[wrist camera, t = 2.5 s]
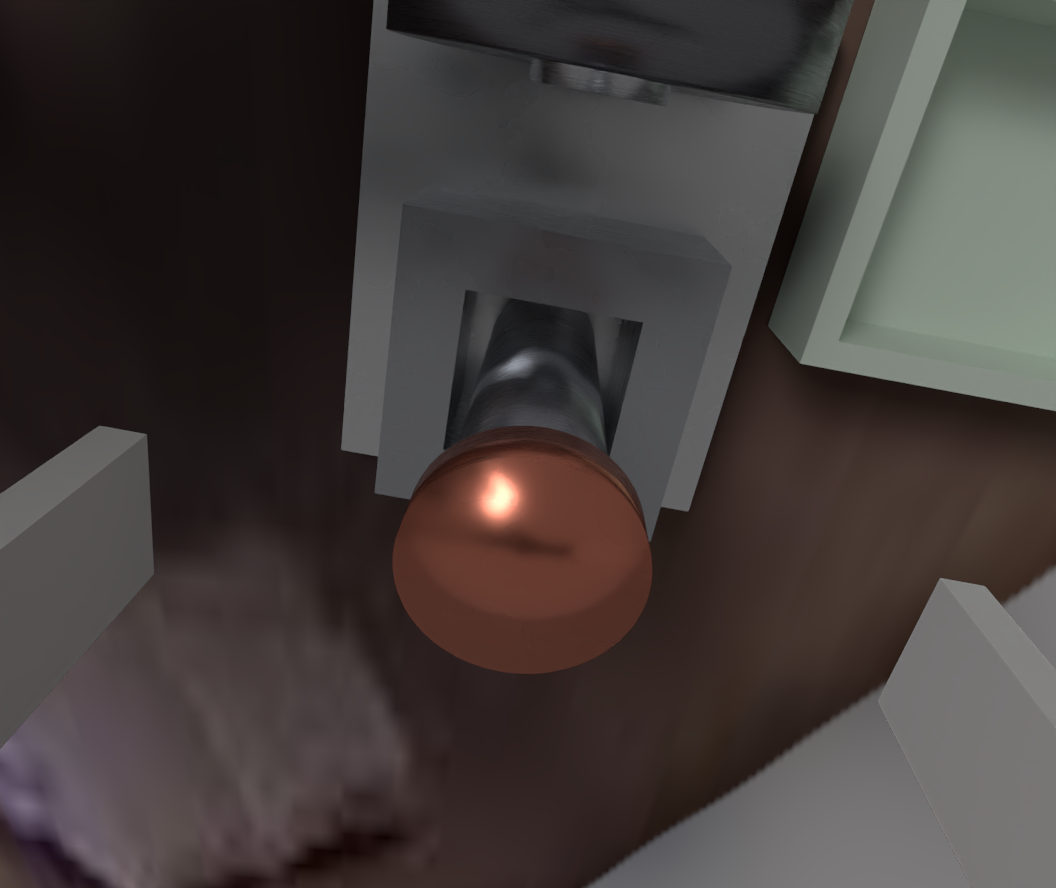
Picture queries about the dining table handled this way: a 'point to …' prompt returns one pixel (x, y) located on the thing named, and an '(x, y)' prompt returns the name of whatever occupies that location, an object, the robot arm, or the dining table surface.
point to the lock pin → (527, 511)
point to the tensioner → (574, 208)
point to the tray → (937, 207)
